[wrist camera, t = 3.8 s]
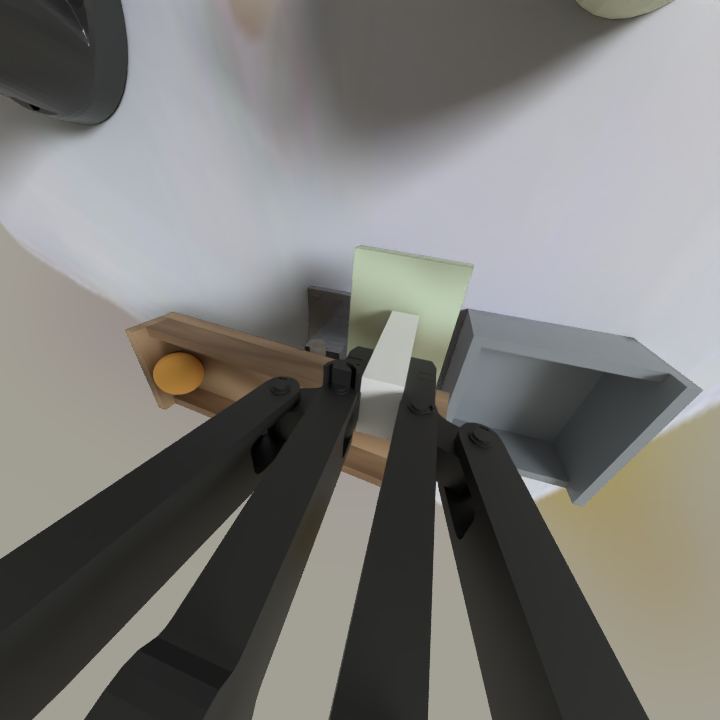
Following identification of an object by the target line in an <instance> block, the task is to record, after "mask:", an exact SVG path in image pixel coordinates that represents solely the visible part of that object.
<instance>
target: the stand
mask: <svg viewBox="0 0 720 720" xmlns="http://www.w3.org/2000/svg"><path fill="white" fill-rule="evenodd" d="M350 302H351V293H349V292H343V291H337V290H332V289H326V288H321V287H315V286H311V287H309V288H308V303H309V342H308V343H307V344H306V345H305V351H308V352H310V341H311V340H314V339H322V340H324V341H325V342H326V357H328V358H332V359H335V360H338V359H342V360H345V359H346V356H347V343H348V329H349V316H350Z"/></svg>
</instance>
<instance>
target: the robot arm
mask: <svg viewBox="0 0 720 720" xmlns="http://www.w3.org/2000/svg"><path fill="white" fill-rule="evenodd" d="M126 73H127V40H126V30H125V22H124V16H123V11H122V6H121V1H120V0H0V94H1V95H4V96H7V97H10V98H11V99H13V100H14V101H16V102H17V103H19V104H21V105H22V106H24V107H26V108H28V109H30V110H32V111H34V112H36V113H39V114H41V115H44V116H47V117H50V118H53V119H58V120H63V121H68V122H73V123H78V124H85V125H90V124H96V123H99V122H101V121H103V120H105V119H107V118H108V117H109V116H110V115H111V114H112V113H113V112H114V110H115V109H116V107H117V105H118V103H119V101H120V99H121V96H122V93H123V90H124V85H125V80H126ZM418 321H419V316H418V315H413V314H408V313H403V312H397V311H392V313H391V315H390V317H389V319H388V321H387V324H386V326H385V328H384V330H383V332H382V334H381V337H380V339H379V341H378V343H377V345H376V348H375V350H374V349H369V348H365V347H360V346H357V347H356V348H354V349H352V350H351V351H350V352H349V354H348V356H347V357H346V359H345V360H342V359H338V360H332V361H329V362H327V363H326V364H325V365H324V366H323V385H322V386H321V387H319V388H300V385H299V383H298V381H297V380H295V379H294V378H291V377H284V376H280V377H275V378H272V379H270V380H268V381H266V382H264V383H263V384H261V385H260V386H258V387H257V388H255V389H254V390H252V391H251V392H249V393H248V394H247V395H245V396H244V397H242V398H241V399H239V400H238V401H236V402H235V403H233V404H232V405H230V406H229V407H227V408H226V409H224V410H223V411H221V412H220V413H218V414H217V415H215V416H214V417H212V418H211V419H209V420H208V421H206V422H205V423H203V424H202V425H200V426H199V427H197V428H196V429H194V430H193V431H191V432H190V433H188V434H187V435H185V436H184V437H182V438H181V439H179V440H178V441H176V442H175V443H173V444H172V445H170V446H169V447H167V448H166V449H164V450H163V451H161V452H160V453H158V454H157V455H155V456H154V457H152V458H151V459H149V460H148V461H146V462H145V463H143V464H142V465H141V466H139V467H137V468H136V469H134V470H133V471H132V472H130V473H128V474H127V475H125V476H124V477H122V478H121V479H119V480H118V481H117V482H115V483H113V484H112V485H111V486H109V487H108V488H106V489H105V490H103V491H101V492H100V493H98V494H97V495H96V496H94V497H93V498H91V499H90V500H88V501H87V502H85V503H84V504H82V505H81V506H79V507H78V508H76V509H75V510H73V511H72V512H70V513H69V514H67V515H66V516H64V517H63V518H61V519H60V520H58V521H57V522H55V523H54V524H52V525H51V526H50V527H48V528H46V529H45V530H43V531H42V532H40V533H39V534H37V535H36V536H34V537H33V538H31V539H30V540H28V541H27V542H25V543H24V544H22V545H21V546H19V547H18V548H16V549H15V550H13V551H12V552H10V553H9V554H8V555H6V556H4V557H3V558H1V559H0V720H32V719H33V718H34V717H35V716H36V715H37V714H38V713H39V712H40V711H41V710H42V709H43V708H44V707H45V706H46V705H47V704H48V703H49V702H50V701H51V700H53V699H54V698H55V697H56V696H57V695H58V694H59V693H60V692H61V691H62V690H63V689H64V688H65V687H66V686H67V685H68V684H69V683H70V682H71V681H72V680H73V678H74V677H75V676H76V675H77V674H78V673H79V672H80V671H81V670H82V669H83V668H84V667H85V666H86V665H87V664H88V663H89V662H90V661H91V660H92V659H93V658H94V657H95V656H96V655H97V653H99V652H100V650H101V649H102V648H103V647H104V646H105V645H106V644H107V643H108V642H109V641H110V640H111V639H112V638H113V637H114V636H115V635H116V634H117V633H118V632H119V631H120V630H121V629H122V628H123V627H124V626H125V624H126V623H127V622H128V621H129V620H130V619H131V618H132V617H133V616H134V615H135V614H136V613H137V612H138V611H139V610H140V609H141V608H142V607H143V606H144V605H145V604H146V603H147V602H148V600H150V598H151V597H152V596H153V595H154V594H155V593H156V592H157V591H158V590H159V589H160V588H161V587H162V586H163V585H164V584H165V583H166V582H167V581H168V580H169V579H170V577H172V576H173V575H174V573H175V572H176V571H177V570H178V569H179V568H180V567H181V566H182V565H183V564H184V563H185V562H186V561H187V560H188V559H189V558H190V557H191V556H192V555H193V554H194V552H195V551H197V550H198V548H200V546H201V545H202V544H203V543H204V542H205V541H206V540H207V539H208V538H209V537H210V536H211V535H212V534H213V533H214V532H215V531H216V530H217V529H218V528H219V527H220V526H221V525H222V524H223V523H224V522H225V520H227V518H228V517H229V516H230V515H231V514H232V513H233V512H234V511H235V510H236V509H237V508H238V507H239V506H240V505H241V504H242V503H243V502H244V501H245V500H246V499H247V498H248V497H249V496H250V495H251V494H252V492H253V491H254V492H253V494H252V495H251V497H250V498H249V500H248V501H247V503H246V504H245V506H244V508H243V509H242V511H241V512H240V514H239V515H238V517H237V518H236V520H235V521H234V523H233V525H232V526H231V528H230V529H229V531H228V532H227V534H226V535H225V537H224V539H223V540H222V542H221V543H220V545H219V546H218V548H217V549H216V551H215V553H214V554H213V556H212V557H211V559H210V560H209V562H208V563H207V565H206V566H205V568H204V570H203V571H202V573H201V574H200V576H199V577H198V579H197V581H196V582H195V584H194V586H193V587H192V588H191V590H190V591H189V593H188V595H187V596H186V598H185V599H184V601H183V602H182V604H181V605H180V607H179V608H178V610H177V612H176V613H175V615H174V616H173V618H172V619H171V620H170V622H169V623H168V625H167V626H166V627H165V629H164V630H163V631H162V632H161V633H160V634H159V635H158V636H157V637H156V638H155V639H153V640H152V641H150V642H149V643H148V644H146V645H145V646H143V647H142V648H140V649H139V650H138V651H137V652H136V653H135V654H134V655H133V656H132V657H131V658H130V659H129V660H128V661H127V662H126V663H125V664H124V665H123V667H122V668H121V669H120V670H119V672H118V673H117V674H116V676H115V677H114V678H113V680H112V681H111V682H110V684H109V685H108V686H107V688H106V689H105V690H104V692H103V693H102V694H101V696H100V697H99V699H98V700H97V702H96V703H95V705H94V706H93V708H92V709H91V710H90V712H89V713H88V715H87V716H86V718H85V719H84V720H252V716H253V711H254V707H255V702H256V699H257V696H258V692H259V689H260V686H261V684H262V680H263V678H264V675H265V673H266V670H267V667H268V665H269V662H270V659H271V657H272V654H273V651H274V649H275V646H276V643H277V641H278V638H279V635H280V633H281V630H282V627H283V625H284V622H285V619H286V617H287V614H288V611H289V609H290V606H291V603H292V600H293V598H294V595H295V592H296V590H297V587H298V585H299V582H300V579H301V577H302V574H303V571H304V568H305V566H306V563H307V561H308V558H309V555H310V552H311V550H312V547H313V545H314V542H315V539H316V536H317V534H318V531H319V528H320V526H321V523H322V520H323V517H324V515H325V512H326V510H327V507H328V504H329V502H330V499H331V496H332V494H333V491H334V488H335V486H336V483H337V480H338V478H339V475H340V472H341V470H342V467H343V464H344V462H345V459H346V456H347V454H348V451H349V448H350V446H351V443H352V437H353V431H354V429H355V426H356V431H357V432H361V433H365V434H368V435H372V436H375V437H379V438H383V439H386V440H390V441H391V443H390V448H389V452H388V456H387V461H386V465H385V470H384V474H383V479H382V483H381V488H380V492H379V497H378V501H377V506H376V511H375V515H374V519H373V524H372V528H371V533H370V537H369V542H368V546H367V551H366V555H365V559H364V564H363V568H362V573H361V577H360V582H359V586H358V591H357V595H356V600H355V604H354V609H353V613H352V617H351V622H350V626H349V631H348V635H347V640H346V644H345V649H344V653H343V658H342V662H341V667H340V671H339V676H338V680H337V684H336V689H335V694H334V698H333V703H332V707H331V711H330V716H329V720H428V698H429V667H430V639H431V637H430V636H431V609H432V580H433V550H434V521H435V520H434V518H435V491H436V481H437V482H438V488H439V492H440V496H441V501H442V505H443V509H444V514H445V517H446V522H447V526H448V531H449V535H450V539H451V544H452V548H453V552H454V556H455V560H456V565H457V570H458V574H459V578H460V582H461V587H462V591H463V595H464V600H465V604H466V608H467V613H468V617H469V621H470V626H471V630H472V634H473V638H474V643H475V647H476V651H477V656H478V660H479V664H480V668H481V673H482V677H483V682H484V686H485V690H486V695H487V699H488V703H489V707H490V712H491V716H492V720H649V719H648V717H647V715H646V713H645V711H644V709H643V707H642V705H641V703H640V701H639V700H638V698H637V696H636V694H635V692H634V690H633V688H632V686H631V684H630V682H629V681H628V679H627V677H626V675H625V673H624V671H623V669H622V668H621V665H620V663H619V662H618V660H617V658H616V656H615V654H614V652H613V650H612V648H611V646H610V645H609V643H608V641H607V639H606V637H605V635H604V633H603V631H602V629H601V627H600V626H599V624H598V622H597V620H596V618H595V616H594V614H593V613H592V611H591V609H590V607H589V605H588V603H587V601H586V599H585V597H584V595H583V593H582V592H581V590H580V588H579V586H578V584H577V582H576V581H575V578H574V576H573V574H572V573H571V571H570V569H569V567H568V565H567V563H566V561H565V559H564V557H563V555H562V554H561V552H560V550H559V548H558V546H557V544H556V542H555V540H554V538H553V537H552V535H551V533H550V531H549V529H548V527H547V525H546V523H545V521H544V520H543V518H542V516H541V514H540V512H539V510H538V508H537V506H536V504H535V502H534V500H533V499H532V497H531V495H530V493H529V491H528V489H527V487H526V485H525V483H524V482H523V480H522V478H521V476H520V474H519V472H518V470H517V468H516V466H515V464H514V463H513V461H512V459H511V457H510V455H509V453H508V451H507V449H506V447H505V445H504V444H503V442H502V440H501V439H500V437H499V436H498V435H497V433H495V432H494V431H493V430H492V429H490V428H489V427H487V426H484V425H482V424H479V423H474V422H471V423H465V424H463V425H461V427H459V426H457V425H455V424H453V423H451V422H449V421H447V420H446V419H444V418H443V417H442V416H441V415H440V414H439V413H438V410H437V407H436V405H435V396H436V373H437V368H436V367H435V365H434V363H433V362H432V361H428V360H424V359H419V358H414V357H411V354H412V349H413V345H414V340H415V335H416V330H417V326H418Z"/></svg>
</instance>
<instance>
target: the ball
mask: <svg viewBox="0 0 720 720" xmlns="http://www.w3.org/2000/svg"><path fill="white" fill-rule="evenodd" d="M153 378H154V381H155V383H156V385H157V386H158V387H159V388H160V389H161V390H163V391H165V392H167V393H170V394H176V395H180V394H186V393H189V392H191V391H193V390H195V389H196V388H197V387H198V386H199V385H200V384H201V382H202V380H203V378H204V368H203V365H202V363H201V362H200V361H199V360H198V359H197V358H196V357H194V356H193V355H191V354H188V353H182V352H176V353H171V354H168V355H166V356H164V357H162V358H161V359H160V360H159V361H158V362H157V363H156V365H155V367H154V370H153Z"/></svg>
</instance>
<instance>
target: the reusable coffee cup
mask: <svg viewBox="0 0 720 720" xmlns="http://www.w3.org/2000/svg"><path fill="white" fill-rule="evenodd" d="M672 1H674V0H576V2H577V3H578V4H579V5H580V6H581V7H582V8H584V9H585V10H587V11H588V12H590V13H592V14H593V15H596V16H600V17H604V18H608V19H620V18H631V17H635V16H638V15H642V14H645V13H649V12H652V11H654V10H656V9H658V8H660V7H662V6H664V5H666V4H668V3H670V2H672Z"/></svg>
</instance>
